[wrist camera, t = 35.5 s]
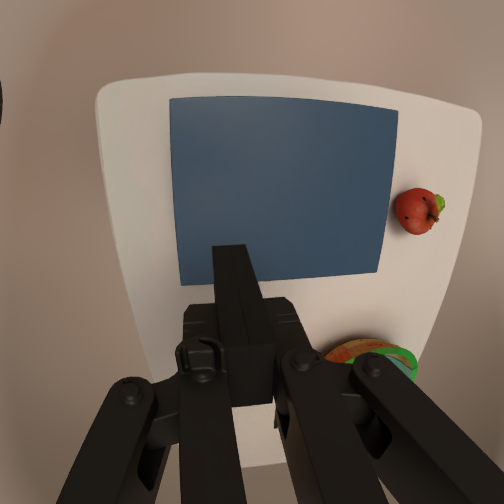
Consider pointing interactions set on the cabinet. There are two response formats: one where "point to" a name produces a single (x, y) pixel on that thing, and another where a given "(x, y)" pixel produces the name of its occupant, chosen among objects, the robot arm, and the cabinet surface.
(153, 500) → the robot arm
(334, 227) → the lid
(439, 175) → the cabinet surface
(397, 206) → the apple
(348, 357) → the bowl
